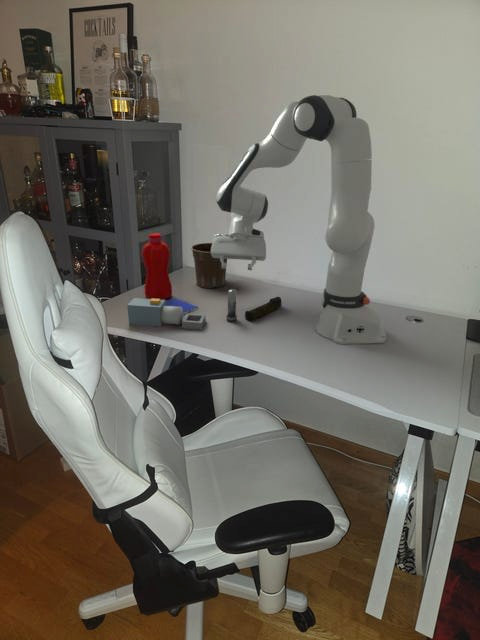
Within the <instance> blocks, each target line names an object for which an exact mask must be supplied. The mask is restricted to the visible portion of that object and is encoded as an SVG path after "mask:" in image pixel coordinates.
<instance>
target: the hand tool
mask: <svg viewBox="0 0 480 640" xmlns="http://www.w3.org/2000/svg"><path fill="white" fill-rule="evenodd" d="M281 307H282V298H281V297H280V296H275V297H272V298H270V299H269V301H268V302H267V303H264V304H262V305H260V306H257V307H255V308H253V309H251V310H245V313H244V318H245V320H246V321H248V322H251V323H252V322H254V321H256V319H259V318H261V317H262V316H265V315H266V314H268V313H271V312H276V311H278V310H279V309H280V308H281Z"/></svg>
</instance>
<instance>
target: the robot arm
mask: <svg viewBox="0 0 480 640" xmlns="http://www.w3.org/2000/svg"><path fill="white" fill-rule="evenodd" d="M308 139H310V140H315V141H318V142H323V141H326V142H327V143H328V145H329V147H330V153H331V154H330V161H331V162H330V163H331V164H330V165H331V168H330V169H331V170H330V171H331V173H330V174H331V195H330V201H329V202H330V204H329V209H328V219H327V228H326V231H325V238H324V239H325V243H326V244H327V246H328V248H329V249H330V250H331V251H332V253H331V257H330V260H329V263H328V266H327V274H326V284H325V288H324V289H323V293H322V302H321V305H322V309H321V313H320V317H319V319H318V322H317V323H316V327H315V331H316V332H317V333H318V334H319V335H320V336H322V337H324V338H327V339H330V340H332V341H333V342H335V343H336V344H340V345H343V344H344V345H346V344H347V345H348V344H349V345H350V344H351V345H353V344H355V345H356V344H358V345H359V344H360V345H361V344H384V343H385V342H386V341H387V332H386V331H385V329H384V328H383V326H381V320H380V317H379V315H378V314H377V312H376V311H375V310H374V309H372V307H370V306H369V305H370V303H371V300H370V298H369V297H368V296H367V294H365V292H364V291H362V288H363V282H364V281H363V280H364V274H365V271H366V270H365V269H366V264H367V262H368V257H369V254H370V250H371V245H372V241H373V236H374V230H375V220H374V217H373V216H372V213H370V212H369V210H368V209H369V203H370V202H369V201H370V197H371V191H372V166H373V165H372V163H373V162H372V159H373V158H372V155H373V154H372V152H373V151H372V139H371V133H370V126H369V124H368V123H367V121H366V120H364V119H362V118H359V117H358V116H357V110H356V107H355V106H354V104H353V102H351V101H350V100H348V99H346V98H344V97H336V96H333V95H324V94H322V95H316V94H314V95H309V96H306V97H303V98H302V99H300V100H299V101H292V102H289V103H287V105H286V106H285V108H284V109H283V110H282V111H281V112H280V114H279V116H278V117H277V119H276V120H275V122H274V124H273V126H272V128H271V130H270V132H269V133H268V135H267V136H266V137H265V138H264V139H263V140H261V141H260V142H257V143H253V144H252V145H251V146H250V147H249V148H248V149H247V151H246V152H245V153H244V154H243V156H242V157H241V159H240V160H239V162H238V163H237V165H236V166H235V168H234V169H233V170H232V172H231V173H230V175H229V176H228V177H227V179H226V180H225V181H224V182H223V183H222V184H221V186H220V187H219V189H218V191H217V194H216V197H215V198H216V199H215V201H216V204H217V205H218V208H219V209H220V210H221V211H223V212H226V213H231V215H230V220H231V222H230V224H229V230H228V234H221V233H217V234H215V235H213V236H212V238H211V243H212V247H211V255H212V257H213V258H220V261H221V263H222V269H226V270H227V266H226V263H224V262H223V261H224V259H227V260H244V261H251V262H250V263H248V264H247V271H253V267H254V266H255V265H256V263H257V261H261V262H263V261H266V259H267V244H266V240H265V234H264V231H262V230H259V229H256V228H255V227H254V224H256V223H258V222H260V221H261V220H263V219H264V218H265V217H266V216H267V213H268V209H269V201H268V197H267V195H266V194H264V193H262V192H259V191H257V190H255V189H252V188H251V189H250V188H248V187H245V186H242V184H243V182H244V181H246V178H247V177H248V175H249V174H250V173H251V172H252V171H254V170H256V169H263V168H271V169H272V168H277V169H278V168H284V167H286V166H287V167H288V166H289V165H291V164H292V163H293V162H294V161H295V160H296V159H297V157H298V155H299V153H300V152H301V151H302V148H303V147H304V146H305V145H304V144H305V143H306V141H307V140H308Z"/></svg>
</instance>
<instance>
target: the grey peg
mask: <svg viewBox="0 0 480 640" xmlns="http://www.w3.org/2000/svg"><path fill="white" fill-rule="evenodd" d="M226 321H227V322H228V323H237V321H238V315H237V289H235V288H230V289H229V288H228V290H227V315H226Z"/></svg>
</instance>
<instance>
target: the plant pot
mask: <svg viewBox="0 0 480 640" xmlns="http://www.w3.org/2000/svg"><path fill="white" fill-rule="evenodd" d="M211 247H212V242H202V243H196V244H193V245H191V246H190V249H191V252H192V258H193V260H194V261H193V262H194V270H195V271H194V273H195V279H196V284H197V286H199V287H201V288H205V289H213V288H220V287H223V286H224V285H225V284H226V277H227V276H226V275H227V268H226V269H222V263H221V261H220V258H213V257H212V255H211ZM223 262H224V263H226V267H227V265H228V259H224V261H223Z"/></svg>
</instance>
